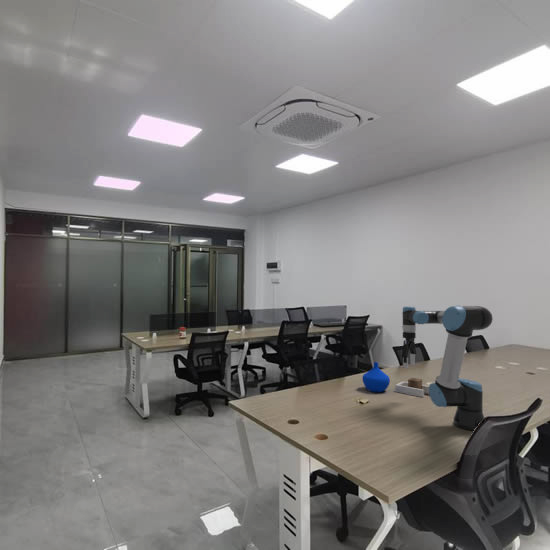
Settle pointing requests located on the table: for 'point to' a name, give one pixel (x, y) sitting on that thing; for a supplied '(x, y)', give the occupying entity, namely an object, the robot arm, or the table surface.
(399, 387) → the lane
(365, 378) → the vase
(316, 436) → the table surface
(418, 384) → the tethered block
